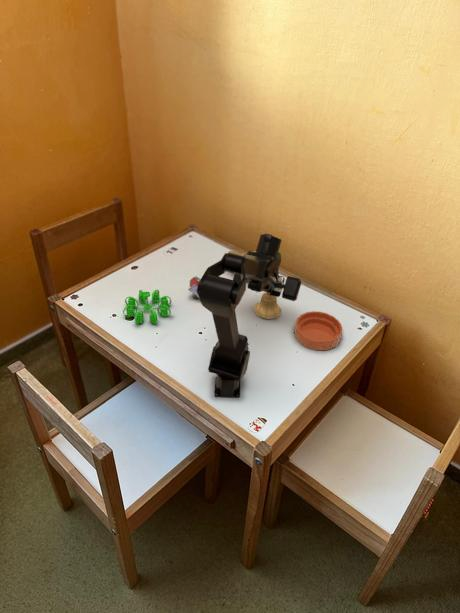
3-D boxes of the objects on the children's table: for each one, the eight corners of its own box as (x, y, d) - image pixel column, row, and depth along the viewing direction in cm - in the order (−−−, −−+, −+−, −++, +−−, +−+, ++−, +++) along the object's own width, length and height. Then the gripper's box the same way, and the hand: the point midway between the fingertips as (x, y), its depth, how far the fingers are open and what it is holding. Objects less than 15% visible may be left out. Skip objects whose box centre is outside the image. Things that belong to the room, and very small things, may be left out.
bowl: (343, 352, 132) (345, 342, 129) (296, 350, 132) (298, 340, 129) (336, 321, 142) (338, 312, 140) (292, 319, 142) (294, 310, 140)
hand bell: (258, 320, 140) (262, 276, 130) (251, 303, 146) (255, 260, 136) (284, 317, 141) (291, 273, 131) (276, 300, 148) (282, 257, 138)
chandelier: (159, 333, 135) (158, 315, 131) (113, 321, 139) (110, 302, 135) (180, 303, 147) (180, 285, 142) (137, 292, 150) (135, 274, 146)
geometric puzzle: (219, 290, 149) (206, 269, 147) (207, 301, 144) (194, 279, 142) (204, 295, 154) (191, 274, 151) (192, 306, 149) (179, 285, 147)
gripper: (304, 256, 123) (308, 269, 138) (238, 240, 128) (249, 255, 143) (292, 296, 122) (298, 305, 137) (226, 279, 127) (238, 290, 142)
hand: (271, 288), depth 140 cm, fingers closed on hand bell
